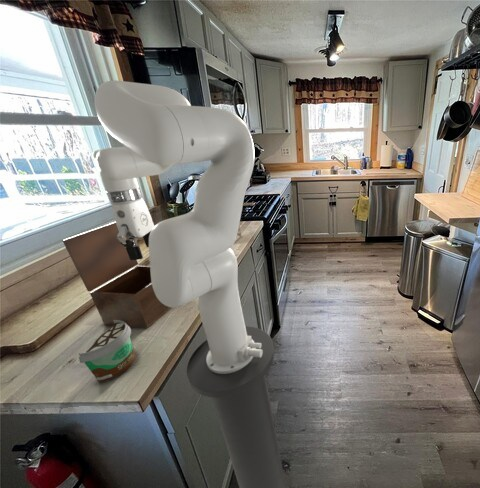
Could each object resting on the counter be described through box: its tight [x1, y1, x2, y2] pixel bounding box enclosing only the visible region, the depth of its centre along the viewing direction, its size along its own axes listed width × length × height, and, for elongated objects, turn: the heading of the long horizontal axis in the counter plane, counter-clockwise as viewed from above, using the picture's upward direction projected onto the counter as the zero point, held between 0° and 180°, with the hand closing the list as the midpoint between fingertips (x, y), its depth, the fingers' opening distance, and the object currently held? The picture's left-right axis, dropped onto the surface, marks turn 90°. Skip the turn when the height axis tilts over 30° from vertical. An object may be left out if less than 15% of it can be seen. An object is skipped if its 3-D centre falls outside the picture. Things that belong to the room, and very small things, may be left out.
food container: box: [78, 320, 136, 383], centre depth 64 cm, size 12×6×10 cm, turn 4°
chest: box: [89, 264, 172, 329], centre depth 86 cm, size 16×18×12 cm
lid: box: [61, 221, 139, 292], centre depth 81 cm, size 16×18×1 cm
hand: (145, 252), depth 78 cm, fingers open, 9 cm apart
